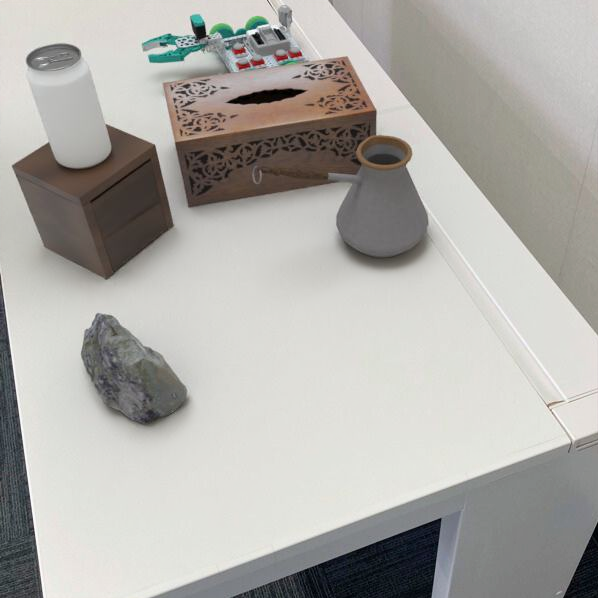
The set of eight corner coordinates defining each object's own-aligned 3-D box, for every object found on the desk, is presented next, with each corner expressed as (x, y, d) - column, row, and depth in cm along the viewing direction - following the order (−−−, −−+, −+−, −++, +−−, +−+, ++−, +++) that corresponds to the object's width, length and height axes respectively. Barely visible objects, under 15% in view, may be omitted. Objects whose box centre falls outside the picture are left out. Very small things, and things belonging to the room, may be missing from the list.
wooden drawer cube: (44, 246, 97) (11, 165, 88) (112, 196, 104) (88, 116, 94) (106, 279, 93) (79, 198, 84) (174, 225, 100) (155, 144, 90)
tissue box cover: (348, 119, 115) (347, 56, 108) (375, 175, 106) (376, 110, 99) (175, 146, 111) (162, 82, 104) (188, 207, 102) (175, 142, 94)
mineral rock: (86, 344, 86) (60, 278, 79) (183, 329, 88) (166, 263, 80) (84, 437, 78) (54, 374, 70) (191, 419, 79) (173, 355, 72)
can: (49, 147, 90) (15, 49, 81) (104, 132, 92) (76, 35, 83) (62, 177, 86) (28, 78, 77) (119, 161, 88) (92, 62, 79)
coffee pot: (403, 200, 103) (408, 98, 91) (442, 253, 96) (454, 150, 84) (250, 241, 97) (236, 139, 86) (280, 301, 90) (269, 198, 79)
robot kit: (140, 63, 127) (128, 6, 120) (283, 33, 133) (279, -23, 126) (168, 120, 116) (156, 62, 109) (323, 85, 122) (321, 27, 115)
